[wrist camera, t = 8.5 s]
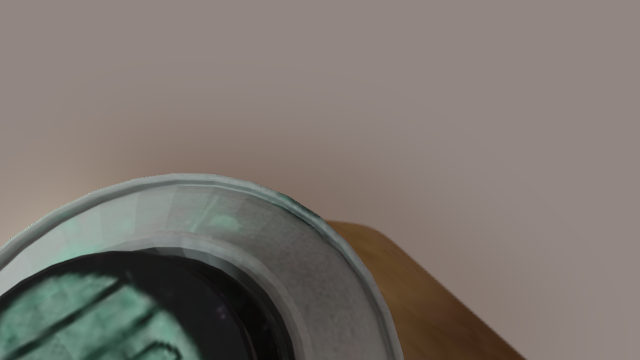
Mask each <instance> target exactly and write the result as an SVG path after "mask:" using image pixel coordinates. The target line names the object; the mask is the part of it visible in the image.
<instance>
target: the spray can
mask: <svg viewBox="0 0 640 360" xmlns="http://www.w3.org/2000/svg"><path fill="white" fill-rule="evenodd" d="M0 360H404V356H403V352H402V349H401V346H400V342H399V339H398V336H397V332H396V329H395V326H394V322H393V319H392V316H391V312H390V310H389V308H388V306H387V304H386V302H385V300H384V298H383V296H382V294H381V292H380V290H379V288H378V286H377V284H376V282H375V280H374V278H373V276H372V274H371V273H370V271H369V270H368V269H367V267H366V266H365V265H364V263H363V262H362V261H361V259H360V258H359V257H358V255H357V254H356V253H355V251H354V250H353V249H352V247H351V246H350V245H349V243H348V242H347V241H346V240H345V239H344V238H343V237H342V236H341V235H339V234H338V233H337V232H336V231H335V230H334V229H333V228H332V227H331V226H330V225H329V224H328V223H326V222H325V221H324V220H323V219H322V218H321V217H320V216H318V215H317V214H316V213H314V212H312V211H311V210H309V209H307V208H306V207H304V206H303V205H301V204H300V203H298V202H297V201H295V200H293V199H292V198H290V197H289V196H287V195H284V194H282V193H279V192H277V191H274V190H272V189H269V188H267V187H264V186H262V185H259V184H257V183H254V182H250V181H245V180H241V179H236V178H231V177H227V176H222V175H217V174H192V173H191V174H190V173H174V174H166V175H158V176H151V177H143V178H137V179H133V180H129V181H126V182H123V183H119V184H116V185H113V186H109V187H106V188H102V189H99V190H96V191H93V192H91V193H89V194H87V195H85V196H83V197H81V198H78V199H76V200H74V201H72V202H70V203H68V204H66V205H63V206H61V207H59V208H57V209H55V210H53V211H52V212H50V213H48V214H47V215H45V216H44V217H42V218H41V219H39V220H38V221H37V222H35V223H33V224H32V225H30V226H29V227H27V228H26V229H24V230H23V231H21V232H20V233H18V234H17V235H15V236H14V237H12V238H11V239H10V240H8V241H7V242H6V243H5V244H4V245H3V246H2V247H1V248H0Z"/></svg>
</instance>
